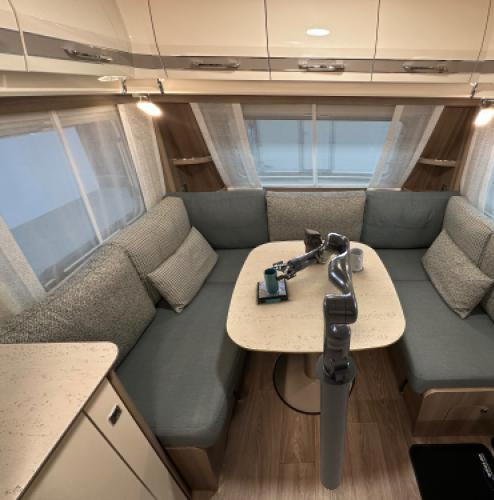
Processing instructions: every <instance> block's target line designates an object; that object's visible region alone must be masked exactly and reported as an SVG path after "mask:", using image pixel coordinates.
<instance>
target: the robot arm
mask: <svg viewBox="0 0 494 500" xmlns="http://www.w3.org/2000/svg"><path fill="white" fill-rule="evenodd" d="M350 249H351V241H350V239H349V238H348V237H347V236H344V235H341V234H338V233H334V232H330V233H328V234H327V235H326V237H325V239H324V241H323V244H320V245H318V246H317V247H315V248H314V249H313V250H312V251H311V252H309V253H307V254H306V253H305V254H301V255H298V256H296V257H293V258H291V259H288V261H287V262H284V260H280V261H275V262H274V263H272V267H270V268H275V269H276V270H277V272H282V274H279V275H277V277H276V281H280V280H282V279H286V281H289V280H292V279H294V278H296V277H297V273H299V272H301V271H303V270H305V269H306V268H309V267H311V266H313V265H315V264H317V263H316V256H317V258H318V260H319V262H320V263H319V264H322V263H323V264H325V263H328V262H329V263H328V264H327V278H328V281H329V283H330V284H331V285H332V286H333V288H335V289H336V290H337V291H338V292H339V293H327V294H326V295H324V297H323V301H322V317H323V335H322V336H323V337H322V339H323V343H322V344H323V345H322V347H323V348H322V349H323V350H322V351H323V352H322V354H323V370H324V372H325V373H326V374H327V375H328V376H329V377H330V379H336V381H340V380H343V381H344V383H346V379H351V374H352V372H351V370H350V367H349V356H350V350H351V349H350V348H351V339H352V329H351V326H350V325H354V324H355V323H356V322H357V320H358V318H359V306H358V301H357V296H356V292H355V287H354V280H353V271H352V267H351V262H350ZM333 255H334V257H333V258H332V256H333ZM331 258H332V259H331Z"/></svg>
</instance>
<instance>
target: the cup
mask: <svg viewBox="0 0 494 500" xmlns="http://www.w3.org/2000/svg"><path fill="white" fill-rule="evenodd" d="M277 276H278V270H276V269H275V268H271V267H268V268H266V269H263V281H265V288H266V290H267V291H269V292H273V291H276V290H277V289H278V288H279V286H278V281H276V277H277Z"/></svg>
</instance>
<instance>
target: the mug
mask: <svg viewBox="0 0 494 500" xmlns="http://www.w3.org/2000/svg"><path fill="white" fill-rule="evenodd" d="M350 262H351V267H352V272H360V271H361V270H363V262H364V250H363V249H361V248H359V247H351V248H350Z"/></svg>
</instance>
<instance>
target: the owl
mask: <svg viewBox="0 0 494 500" xmlns="http://www.w3.org/2000/svg"><path fill="white" fill-rule="evenodd" d="M303 230H304V239H303V244H304V252H305V254H307V253H309V252H311V251H312V250H313V249H314V248H315V247H317V246H318V245H320V244H323V243H324V241H323V237H322V234H321V233H319V232H318V231H317V230H314V229H309V228H306V227H304V229H303ZM315 264H324V263H320V262H319V260H318V258H317V256H316V263H315Z"/></svg>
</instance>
